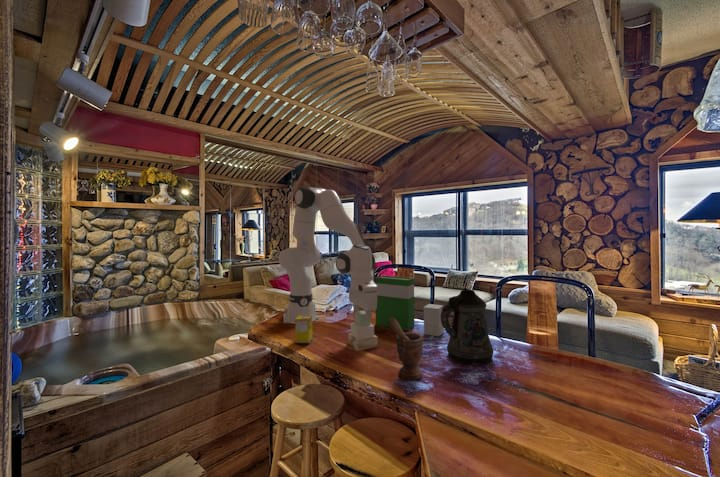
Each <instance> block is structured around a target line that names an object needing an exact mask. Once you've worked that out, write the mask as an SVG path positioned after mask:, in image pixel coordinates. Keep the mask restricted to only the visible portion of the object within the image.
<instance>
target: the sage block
mask: <svg viewBox="0 0 720 477" xmlns="http://www.w3.org/2000/svg"><path fill="white" fill-rule="evenodd" d="M365 313H366V312H365V310H360V311H357V312H355V311H354V314H353V315H354V322H353V323H354V324H356V325H357V326H359V327H363V326H369V325H371V324H372V323H371V321H372V320H371V319H372V318H371V317H372V316H371V314H372V313H371V314H370V320H368V321H366V320H365V319H364V315H365Z"/></svg>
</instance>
